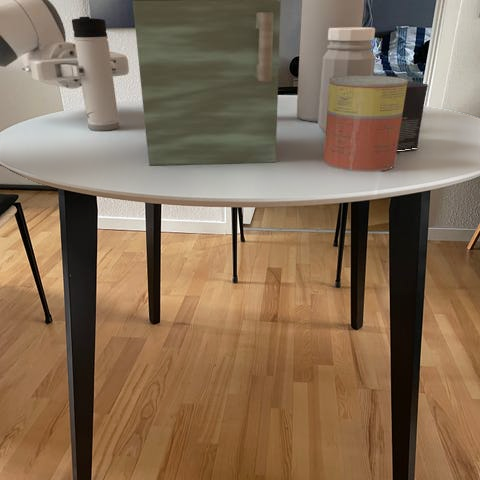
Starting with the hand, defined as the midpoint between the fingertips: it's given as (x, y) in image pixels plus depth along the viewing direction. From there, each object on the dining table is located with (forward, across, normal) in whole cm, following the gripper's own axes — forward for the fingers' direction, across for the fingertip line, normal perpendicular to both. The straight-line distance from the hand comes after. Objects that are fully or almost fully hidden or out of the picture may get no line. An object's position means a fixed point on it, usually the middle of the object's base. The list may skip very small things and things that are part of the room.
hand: (98, 69), depth 98 cm
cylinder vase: (+23, +42, +11) cm, 50 cm away
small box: (+48, +29, +11) cm, 58 cm away
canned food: (+52, +16, +11) cm, 56 cm away
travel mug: (-1, 0, +11) cm, 11 cm away
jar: (+35, +34, +11) cm, 50 cm away
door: (+39, -3, +11) cm, 41 cm away
